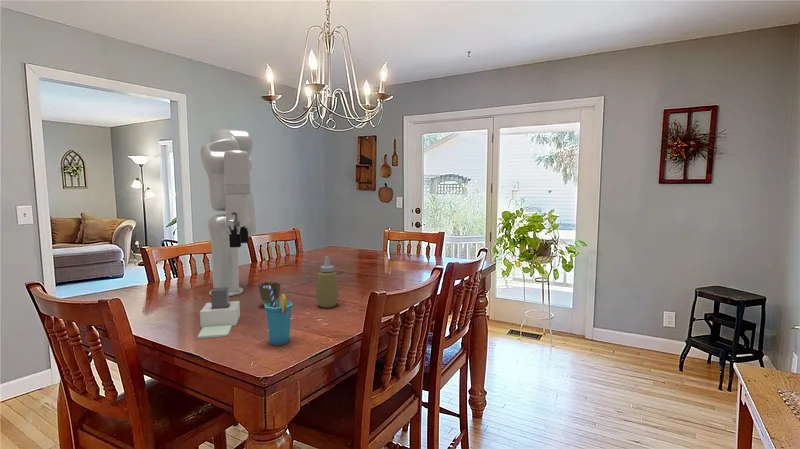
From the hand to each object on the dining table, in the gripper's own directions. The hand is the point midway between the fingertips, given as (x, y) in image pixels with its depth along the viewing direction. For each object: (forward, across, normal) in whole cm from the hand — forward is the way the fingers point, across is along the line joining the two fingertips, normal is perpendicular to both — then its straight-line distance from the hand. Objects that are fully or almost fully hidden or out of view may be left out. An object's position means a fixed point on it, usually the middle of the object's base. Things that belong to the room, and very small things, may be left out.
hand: (239, 245), depth 131 cm
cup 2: (+24, -16, +6) cm, 30 cm away
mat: (+24, +11, -5) cm, 27 cm away
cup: (+25, +20, +14) cm, 35 cm away
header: (+24, +1, -6) cm, 25 cm away
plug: (+24, +1, -6) cm, 24 cm away
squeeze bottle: (+24, -13, +27) cm, 38 cm away
